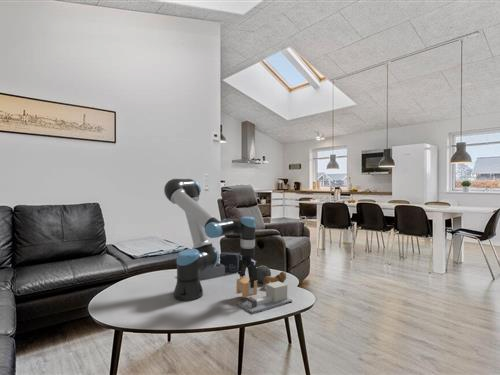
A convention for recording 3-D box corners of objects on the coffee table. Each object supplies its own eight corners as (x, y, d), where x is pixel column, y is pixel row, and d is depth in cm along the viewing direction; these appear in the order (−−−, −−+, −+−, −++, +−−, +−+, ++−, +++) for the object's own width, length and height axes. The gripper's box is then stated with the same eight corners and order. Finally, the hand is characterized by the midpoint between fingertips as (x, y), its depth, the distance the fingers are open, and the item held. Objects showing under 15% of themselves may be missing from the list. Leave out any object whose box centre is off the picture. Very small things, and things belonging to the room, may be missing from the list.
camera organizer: (183, 275, 191) (183, 266, 191) (213, 269, 204) (213, 261, 204) (193, 281, 178) (193, 271, 178) (225, 275, 190) (224, 266, 190)
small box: (241, 270, 202) (240, 252, 202) (237, 273, 196) (237, 255, 196) (223, 268, 206) (223, 251, 206) (219, 271, 199) (219, 254, 199)
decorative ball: (256, 285, 170) (256, 268, 170) (252, 280, 180) (252, 264, 180) (273, 284, 173) (273, 267, 173) (268, 279, 182) (268, 262, 182)
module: (236, 292, 152) (236, 279, 152) (249, 289, 157) (249, 276, 157) (243, 297, 147) (244, 283, 146) (256, 294, 151) (257, 280, 151)
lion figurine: (285, 285, 169) (285, 270, 169) (287, 289, 164) (287, 273, 164) (260, 286, 168) (260, 271, 168) (261, 290, 163) (261, 274, 163)
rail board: (238, 305, 142) (238, 288, 142) (276, 294, 155) (276, 279, 155) (252, 313, 132) (252, 296, 132) (292, 302, 145) (292, 285, 145)
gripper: (231, 244, 157) (230, 286, 158) (252, 251, 141) (251, 299, 141) (243, 242, 162) (242, 284, 162) (265, 250, 145) (264, 296, 145)
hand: (246, 291), depth 152 cm, fingers closed on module, 7 cm apart
